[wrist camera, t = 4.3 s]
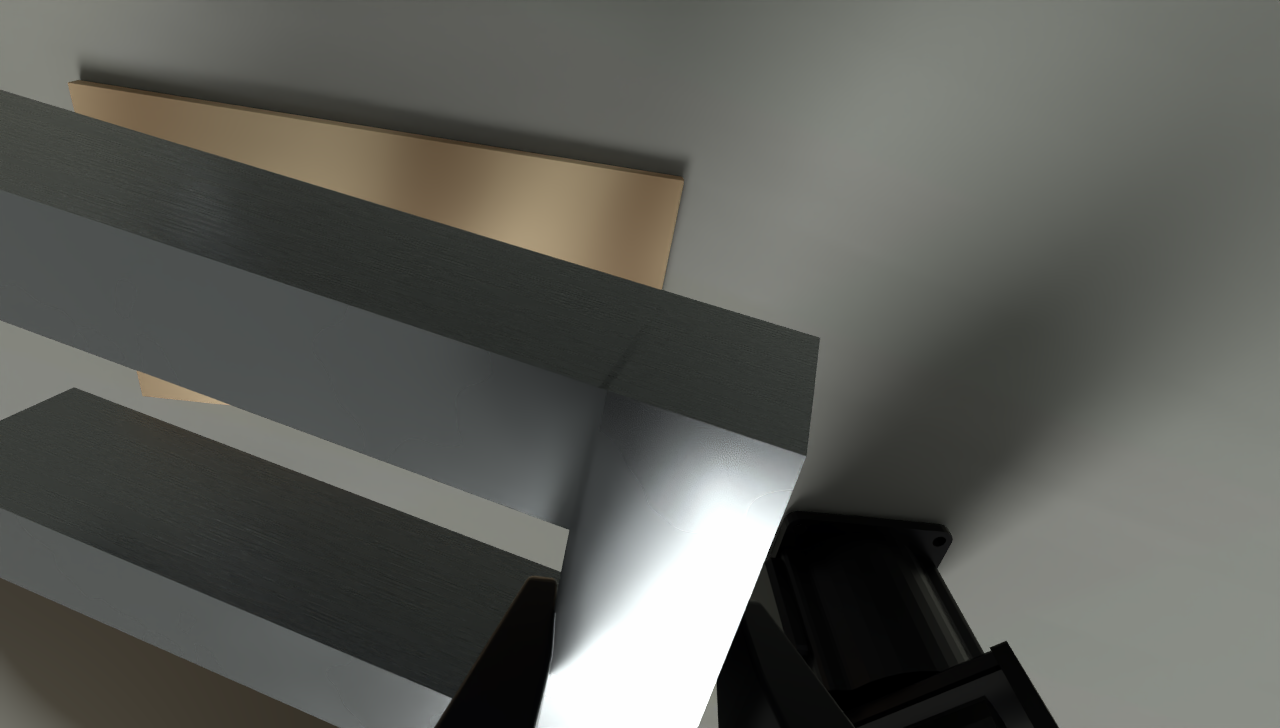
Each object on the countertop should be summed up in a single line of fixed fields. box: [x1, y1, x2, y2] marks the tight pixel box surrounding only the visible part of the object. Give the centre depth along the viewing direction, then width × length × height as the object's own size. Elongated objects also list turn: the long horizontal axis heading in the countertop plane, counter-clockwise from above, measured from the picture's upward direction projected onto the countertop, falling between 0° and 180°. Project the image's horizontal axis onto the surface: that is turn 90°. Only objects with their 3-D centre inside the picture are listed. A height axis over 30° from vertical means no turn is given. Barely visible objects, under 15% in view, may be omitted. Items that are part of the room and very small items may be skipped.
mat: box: [68, 80, 684, 405], centre depth 19 cm, size 15×9×1 cm, turn 80°
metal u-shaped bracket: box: [0, 90, 820, 728], centre depth 11 cm, size 14×8×3 cm, turn 79°
